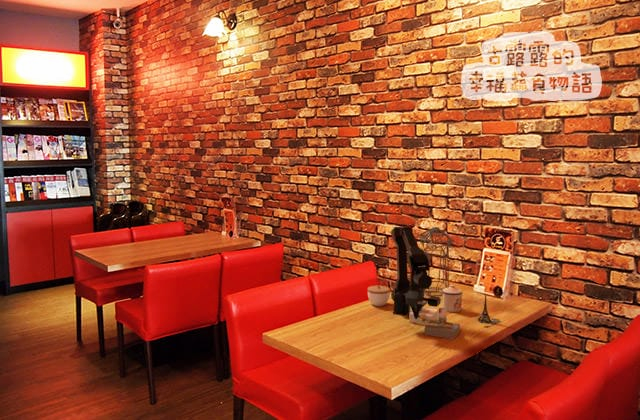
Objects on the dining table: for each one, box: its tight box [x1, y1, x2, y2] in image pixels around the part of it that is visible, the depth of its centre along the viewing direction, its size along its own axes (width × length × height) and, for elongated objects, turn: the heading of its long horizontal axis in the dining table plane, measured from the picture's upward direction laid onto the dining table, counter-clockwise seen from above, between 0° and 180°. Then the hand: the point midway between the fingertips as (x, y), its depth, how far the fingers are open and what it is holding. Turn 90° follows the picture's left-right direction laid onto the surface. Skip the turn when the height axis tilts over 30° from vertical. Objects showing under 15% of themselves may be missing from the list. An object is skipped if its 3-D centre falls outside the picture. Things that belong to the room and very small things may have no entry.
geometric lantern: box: [417, 226, 455, 297], centre depth 275 cm, size 16×16×35 cm
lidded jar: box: [367, 284, 391, 307], centre depth 260 cm, size 11×11×9 cm
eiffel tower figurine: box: [477, 294, 502, 329], centre depth 234 cm, size 15×10×13 cm
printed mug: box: [441, 284, 463, 313], centre depth 252 cm, size 12×9×12 cm
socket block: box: [424, 322, 461, 340], centre depth 221 cm, size 12×10×3 cm
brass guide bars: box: [416, 313, 454, 328], centre depth 222 cm, size 14×6×3 cm, turn 64°
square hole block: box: [408, 307, 439, 324], centre depth 236 cm, size 10×10×4 cm
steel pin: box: [437, 307, 448, 328], centre depth 220 cm, size 3×3×10 cm
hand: (416, 319), depth 225 cm, fingers closed
